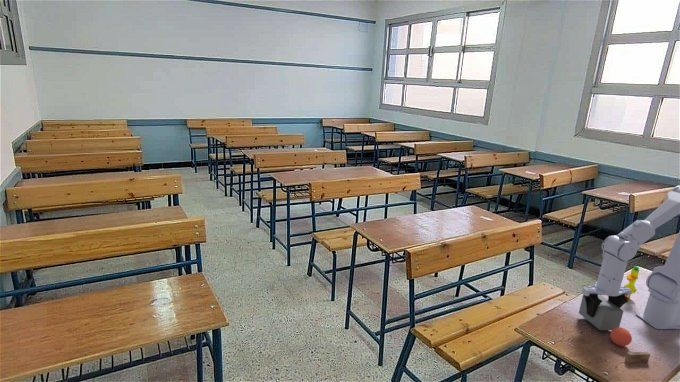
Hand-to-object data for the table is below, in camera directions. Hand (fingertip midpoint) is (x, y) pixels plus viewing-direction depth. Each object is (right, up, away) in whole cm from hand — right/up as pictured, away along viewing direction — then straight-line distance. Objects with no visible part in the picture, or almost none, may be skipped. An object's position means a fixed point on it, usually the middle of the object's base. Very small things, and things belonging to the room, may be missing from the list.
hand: (599, 315), depth 117 cm
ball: (+1, -4, -8) cm, 9 cm away
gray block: (0, -2, +1) cm, 2 cm away
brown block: (0, -8, -14) cm, 16 cm away
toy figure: (+22, 0, +19) cm, 29 cm away
